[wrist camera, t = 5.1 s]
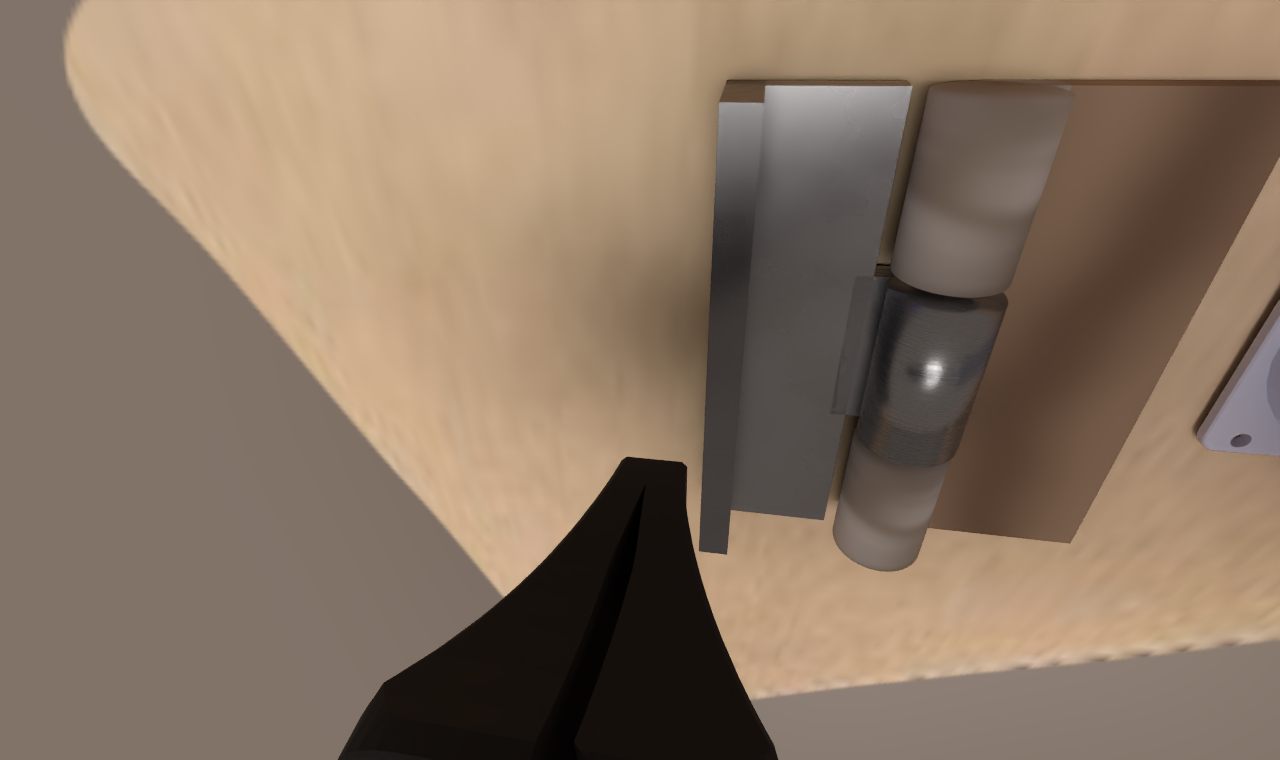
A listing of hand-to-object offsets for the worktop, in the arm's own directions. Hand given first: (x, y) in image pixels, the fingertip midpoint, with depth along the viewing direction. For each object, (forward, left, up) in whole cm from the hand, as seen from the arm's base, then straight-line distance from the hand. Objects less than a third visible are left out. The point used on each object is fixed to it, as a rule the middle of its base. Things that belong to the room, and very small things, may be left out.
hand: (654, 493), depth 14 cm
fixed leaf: (-10, 0, -9) cm, 13 cm away
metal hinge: (-5, 0, -8) cm, 9 cm away
